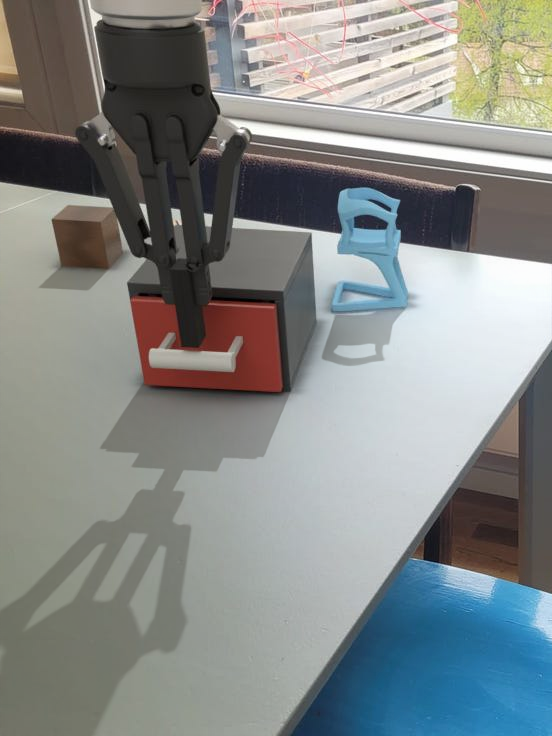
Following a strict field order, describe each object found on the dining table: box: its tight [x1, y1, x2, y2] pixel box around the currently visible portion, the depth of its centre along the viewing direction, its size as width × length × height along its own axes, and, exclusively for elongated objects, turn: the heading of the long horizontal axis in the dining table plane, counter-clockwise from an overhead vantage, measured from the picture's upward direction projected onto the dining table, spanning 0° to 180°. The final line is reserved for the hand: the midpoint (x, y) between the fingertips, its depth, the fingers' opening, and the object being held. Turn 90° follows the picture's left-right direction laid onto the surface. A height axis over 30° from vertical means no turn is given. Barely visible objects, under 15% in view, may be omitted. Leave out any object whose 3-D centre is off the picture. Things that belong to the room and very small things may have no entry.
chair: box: [331, 187, 409, 312], centre depth 109 cm, size 8×8×12 cm
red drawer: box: [129, 294, 283, 393], centre depth 93 cm, size 21×13×8 cm, turn 179°
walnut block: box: [50, 204, 124, 270], centre depth 117 cm, size 6×6×6 cm
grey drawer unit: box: [126, 225, 317, 392], centre depth 97 cm, size 17×14×10 cm
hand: (193, 341), depth 85 cm, fingers closed
